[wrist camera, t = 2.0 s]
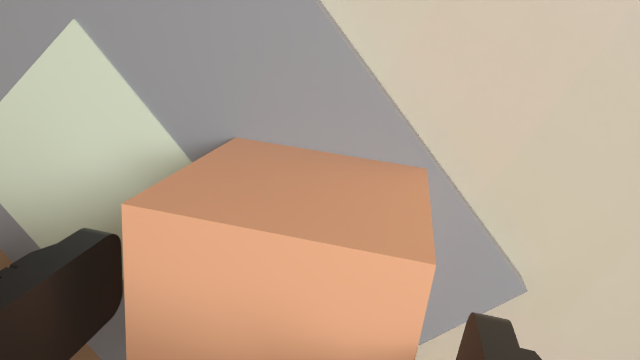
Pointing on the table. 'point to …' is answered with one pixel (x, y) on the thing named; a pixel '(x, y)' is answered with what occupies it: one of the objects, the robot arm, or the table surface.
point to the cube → (278, 258)
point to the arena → (201, 125)
